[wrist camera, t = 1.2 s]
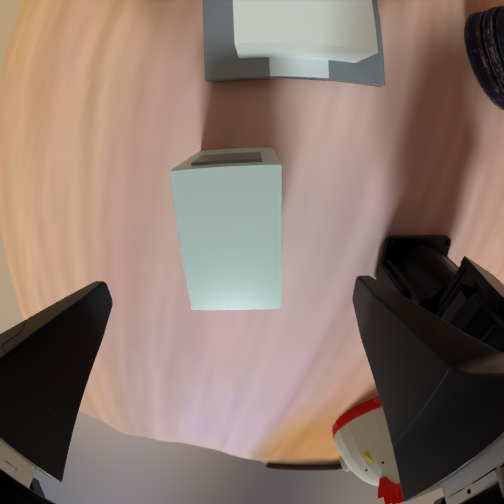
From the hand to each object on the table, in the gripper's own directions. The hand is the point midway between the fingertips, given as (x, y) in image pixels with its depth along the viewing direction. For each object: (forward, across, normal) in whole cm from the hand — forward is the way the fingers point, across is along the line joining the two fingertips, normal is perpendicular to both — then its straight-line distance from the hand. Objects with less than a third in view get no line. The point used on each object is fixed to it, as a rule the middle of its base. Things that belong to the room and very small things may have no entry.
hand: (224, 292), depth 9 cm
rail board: (+10, -4, -18) cm, 21 cm away
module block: (+10, 0, 0) cm, 10 cm away
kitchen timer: (+11, -18, +32) cm, 38 cm away
